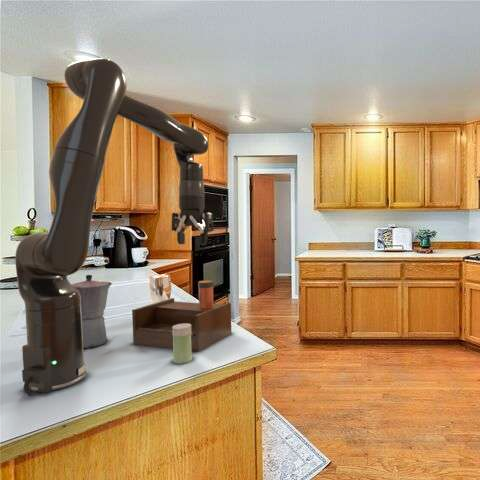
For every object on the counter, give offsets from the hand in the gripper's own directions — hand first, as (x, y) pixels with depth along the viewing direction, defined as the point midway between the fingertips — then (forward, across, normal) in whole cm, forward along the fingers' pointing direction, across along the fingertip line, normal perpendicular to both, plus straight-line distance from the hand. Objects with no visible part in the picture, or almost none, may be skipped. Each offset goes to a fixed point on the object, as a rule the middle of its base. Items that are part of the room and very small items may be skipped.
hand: (192, 244), depth 115 cm
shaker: (+28, +16, -23) cm, 40 cm away
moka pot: (+28, -18, -22) cm, 40 cm away
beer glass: (+28, -20, +7) cm, 35 cm away
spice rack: (+28, +5, -10) cm, 30 cm away
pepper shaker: (+19, +10, -6) cm, 22 cm away
